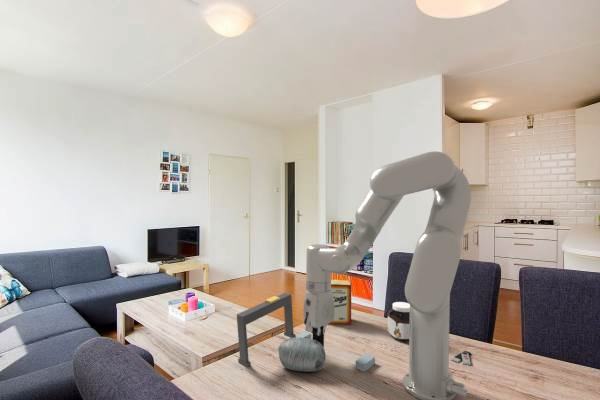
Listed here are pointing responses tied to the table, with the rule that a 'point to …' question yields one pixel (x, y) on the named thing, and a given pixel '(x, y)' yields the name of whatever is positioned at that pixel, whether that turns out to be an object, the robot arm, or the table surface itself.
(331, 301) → the robot arm
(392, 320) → the spread jar
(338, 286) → the baking soda box
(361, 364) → the pale blue block pair
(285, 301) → the gray arch frame
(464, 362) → the usb flash drive
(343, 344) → the table surface
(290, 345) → the gray yarn ball
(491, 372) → the table surface
